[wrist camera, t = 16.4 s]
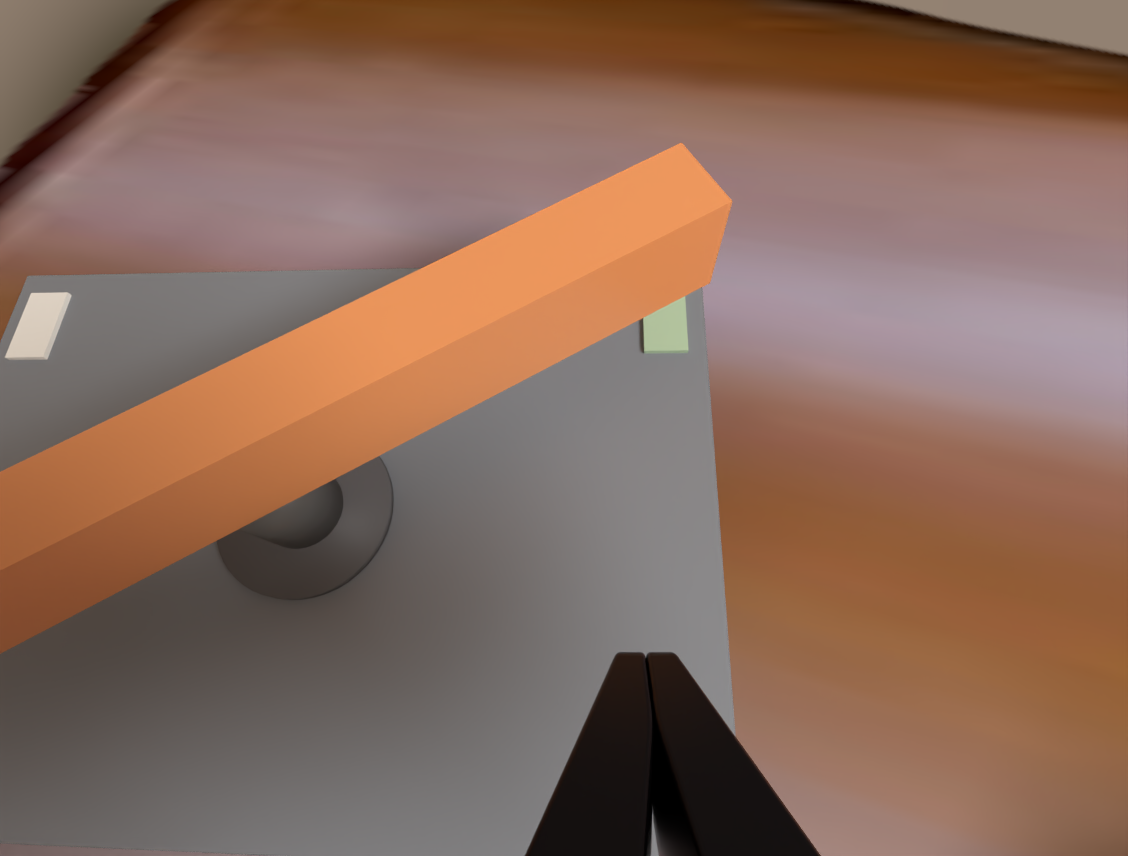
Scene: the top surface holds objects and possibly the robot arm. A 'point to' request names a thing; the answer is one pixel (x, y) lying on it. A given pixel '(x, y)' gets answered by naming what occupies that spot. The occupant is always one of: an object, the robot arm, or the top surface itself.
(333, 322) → the handle
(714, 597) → the panel
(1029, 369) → the top surface
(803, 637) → the top surface
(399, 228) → the top surface
